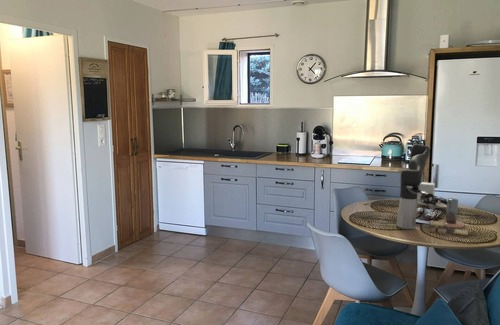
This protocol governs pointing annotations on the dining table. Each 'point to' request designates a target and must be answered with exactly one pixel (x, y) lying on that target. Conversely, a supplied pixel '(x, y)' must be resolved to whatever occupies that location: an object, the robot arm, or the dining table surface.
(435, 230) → the balance
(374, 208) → the dining table surface
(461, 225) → the tan round piece
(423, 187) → the supplement box
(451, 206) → the tea canister
